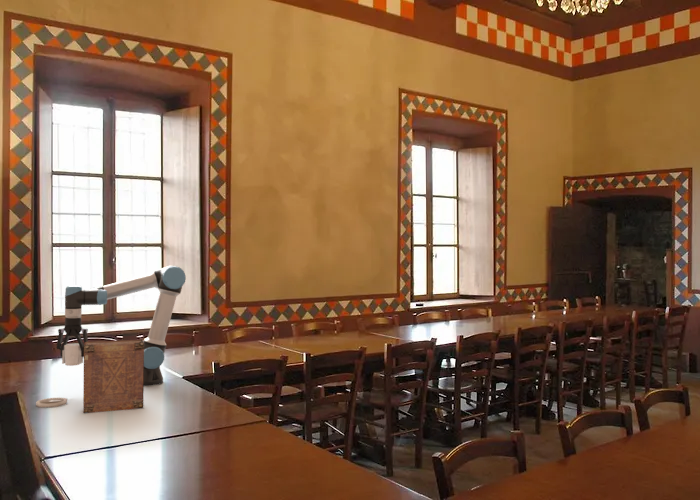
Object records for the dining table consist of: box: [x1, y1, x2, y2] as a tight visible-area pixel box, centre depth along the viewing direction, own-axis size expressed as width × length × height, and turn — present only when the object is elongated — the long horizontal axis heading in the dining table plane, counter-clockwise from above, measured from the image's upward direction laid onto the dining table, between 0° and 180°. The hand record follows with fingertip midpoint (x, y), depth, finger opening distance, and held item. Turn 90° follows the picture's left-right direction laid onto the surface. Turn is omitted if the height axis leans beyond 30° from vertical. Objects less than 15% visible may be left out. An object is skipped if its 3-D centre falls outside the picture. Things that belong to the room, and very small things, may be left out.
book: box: [82, 339, 145, 414], centre depth 285 cm, size 25×9×30 cm, turn 111°
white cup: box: [64, 342, 81, 367], centre depth 313 cm, size 8×8×10 cm
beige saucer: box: [35, 397, 68, 409], centre depth 293 cm, size 13×13×2 cm
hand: (72, 363), depth 313 cm, fingers closed on white cup, 7 cm apart
